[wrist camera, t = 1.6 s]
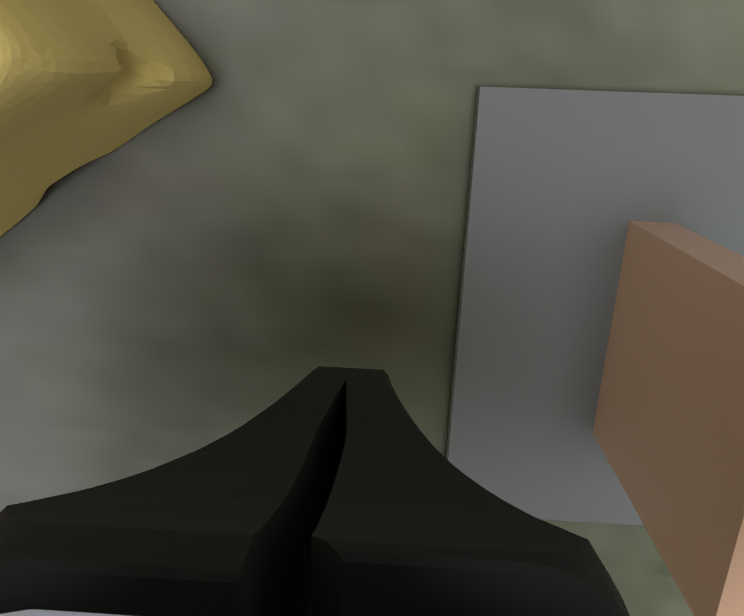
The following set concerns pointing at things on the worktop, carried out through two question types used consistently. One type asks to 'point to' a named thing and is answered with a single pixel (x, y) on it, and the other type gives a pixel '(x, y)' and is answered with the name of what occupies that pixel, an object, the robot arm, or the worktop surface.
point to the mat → (569, 273)
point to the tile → (680, 406)
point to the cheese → (82, 87)
